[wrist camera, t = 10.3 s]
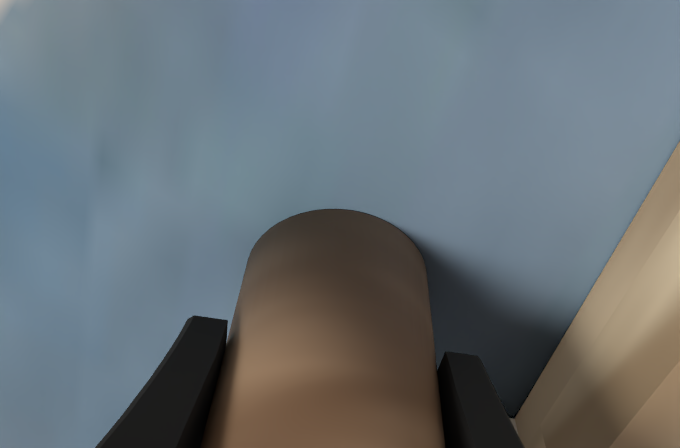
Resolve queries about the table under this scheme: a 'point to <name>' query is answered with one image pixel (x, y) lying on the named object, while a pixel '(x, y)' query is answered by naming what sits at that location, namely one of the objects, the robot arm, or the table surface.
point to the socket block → (620, 344)
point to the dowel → (329, 341)
